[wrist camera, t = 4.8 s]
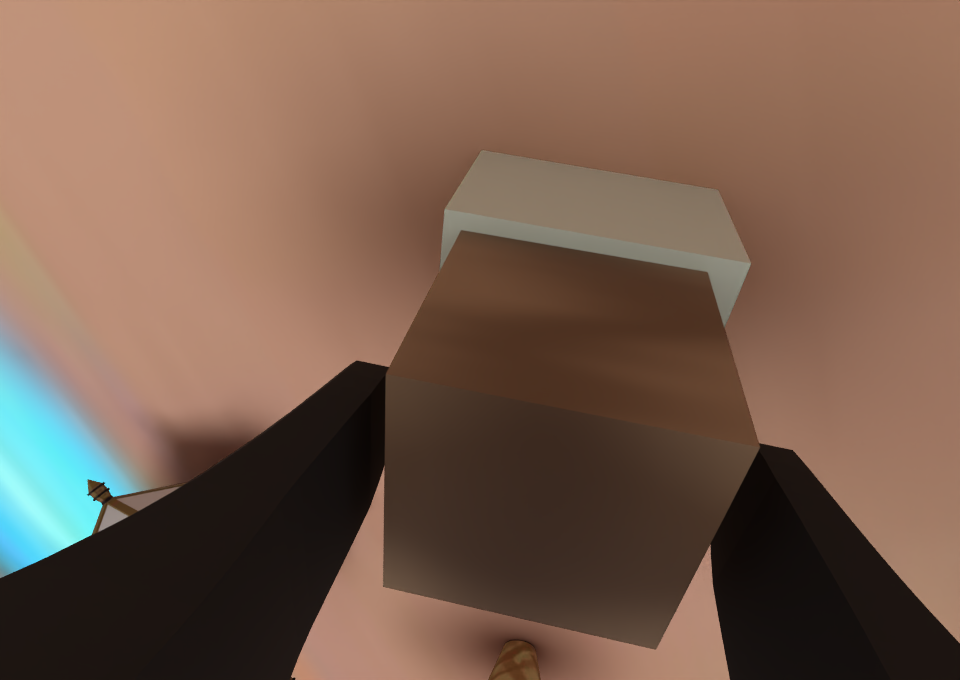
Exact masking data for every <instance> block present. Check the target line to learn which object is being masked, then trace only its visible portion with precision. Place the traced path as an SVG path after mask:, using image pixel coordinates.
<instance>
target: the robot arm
mask: <svg viewBox="0 0 960 680" xmlns="http://www.w3.org/2000/svg"><path fill="white" fill-rule="evenodd" d="M388 369H389V367H386V366H381V365H376V364H371V363H366V362H361V361H355V362H354V363H352V364H350V365H349V366H348V367H347V368H345V369H344V370H343V371H342V372H340V373H339V374H338V375H337V376H335V377H334V378H333V379H332V380H330V381H329V382H328V383H327V384H325V385H324V386H323V387H322V388H320V389H319V390H318V391H317V392H315V393H314V394H313V395H312V396H310V397H309V398H308V399H306V400H305V401H304V402H303V403H301V404H300V405H299V406H297V407H296V408H295V409H293V410H292V411H291V412H289V413H288V414H287V415H285V416H284V417H283V418H281V419H280V420H279V421H277V422H276V423H275V424H273V425H272V426H271V427H269V428H268V429H267V430H265V431H264V432H263V433H261V434H260V435H258V436H257V437H256V438H254V439H253V440H251V441H250V442H248V443H247V444H245V445H244V446H242V447H241V448H239V449H238V450H236V451H235V452H234V453H232V454H231V455H229V456H228V457H226V458H225V459H223V460H222V461H220V462H219V463H217V464H216V465H214V466H213V467H211V468H210V469H208V470H207V471H205V472H204V473H202V474H200V475H199V476H197V477H196V478H194V479H192V480H191V481H189V482H187V483H186V484H184V485H183V486H181V487H179V488H178V489H176V490H174V491H173V492H171V493H169V494H167V495H166V496H164V497H162V498H160V499H159V500H157V501H155V502H153V503H152V504H150V505H148V506H146V507H145V508H143V509H141V510H139V511H138V512H136V513H134V514H132V515H130V516H128V517H126V518H124V519H123V520H121V521H119V522H117V523H115V524H113V525H111V526H109V527H107V528H105V529H103V530H101V531H99V532H97V533H95V534H93V535H91V536H89V537H87V538H85V539H83V540H81V541H79V542H77V543H75V544H73V545H71V546H69V547H67V548H65V549H63V550H61V551H59V552H57V553H55V554H53V555H51V556H49V557H47V558H44V559H42V560H40V561H38V562H36V563H34V564H31V565H29V566H27V567H25V568H22V569H20V570H18V571H16V572H13V573H11V574H9V575H7V576H4V577H2V578H0V680H290V678H291V675H292V672H293V670H294V667H295V665H296V662H297V659H298V657H299V654H300V652H301V650H302V648H303V645H304V643H305V641H306V638H307V636H308V634H309V632H310V629H311V627H312V625H313V623H314V621H315V619H316V617H317V615H318V613H319V611H320V609H321V607H322V605H323V603H324V601H325V599H326V596H327V594H328V592H329V590H330V588H331V586H332V584H333V582H334V580H335V578H336V576H337V574H338V572H339V570H340V568H341V566H342V564H343V562H344V560H345V558H346V556H347V554H348V552H349V550H350V547H351V545H352V543H353V541H354V539H355V537H356V535H357V533H358V531H359V529H360V527H361V525H362V523H363V521H364V518H365V516H366V514H367V512H368V510H369V508H370V505H371V503H372V500H373V497H374V494H375V491H376V489H377V486H378V483H379V480H380V477H381V474H382V471H383V468H384V465H385V396H386V373H387V371H388ZM759 445H760V449H759V451H758V453H757V454H756V456H755V458H754V460H753V462H752V464H751V466H750V468H749V470H748V472H747V474H746V476H745V478H744V480H743V482H742V484H741V485H740V487H739V489H738V491H737V493H736V495H735V497H734V499H733V501H732V503H731V505H730V507H729V509H728V511H727V513H726V515H725V517H724V518H723V520H722V522H721V524H720V526H719V528H718V530H717V532H716V534H715V536H714V538H713V540H712V542H711V563H712V578H713V588H714V594H715V600H716V606H717V611H718V617H719V622H720V628H721V633H722V639H723V644H724V649H725V655H726V660H727V665H728V671H729V676H730V680H960V643H959V642H958V641H957V640H956V639H955V638H954V637H953V636H952V635H951V634H950V633H949V632H948V630H947V629H946V628H945V627H944V626H943V625H942V624H941V623H940V622H939V621H938V620H937V619H936V617H935V616H934V615H933V614H932V613H931V612H930V611H929V610H928V609H927V608H926V607H925V606H924V605H923V603H922V602H921V601H920V600H919V599H918V598H917V597H916V596H915V594H914V593H913V592H912V591H911V590H910V589H909V588H908V587H907V585H906V584H905V583H904V582H903V581H902V580H901V579H900V577H899V576H898V575H897V574H896V573H895V572H894V571H893V569H892V568H891V567H890V566H889V565H888V564H887V562H886V561H885V560H884V559H883V558H882V556H881V555H880V554H879V553H878V552H877V551H876V549H875V548H874V547H873V546H872V545H871V544H870V542H869V541H868V540H867V539H866V538H865V536H864V535H863V534H862V533H861V532H860V530H859V529H858V528H857V527H856V526H855V524H854V523H853V522H852V521H851V519H850V518H849V517H848V516H847V515H846V513H845V512H844V511H843V510H842V508H841V507H840V506H839V505H838V504H837V502H836V501H835V500H834V499H833V497H832V496H831V495H830V494H829V493H828V491H827V490H826V489H825V488H824V486H823V485H822V484H821V483H820V482H819V480H818V479H817V478H816V477H815V476H814V474H813V473H812V472H811V471H810V470H809V468H808V467H807V466H806V465H805V464H804V462H803V461H802V460H801V459H800V458H799V457H798V456H797V455H796V453H795V452H794V451H793V450H789V449H784V448H779V447H775V446H770V445H765V444H760V443H759Z"/></svg>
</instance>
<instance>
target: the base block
mask: <svg viewBox="0 0 960 680" xmlns="http://www.w3.org/2000/svg"><path fill="white" fill-rule="evenodd" d="M461 230H464V231H470V232H476V233H482V234H488V235H494V236H499V237H505V238H511V239H517V240H523V241H529V242H535V243H541V244H546V245H552V246H558V247H564V248H570V249H576V250H582V251H587V252H593V253H599V254H605V255H611V256H617V257H623V258H628V259H634V260H640V261H646V262H652V263H658V264H664V265H669V266H675V267H681V268H687V269H693V270H699V271H705V272H708V275H709V278H710V282H711V285H712V288H713V292H714V295H715V298H716V302H717V305H718V308H719V312H720V315H721V318H722V322H723V325H724V328H725V325H726V323H727V321H728V318H729V316H730V313H731V311H732V309H733V306H734V304H735V301H736V299H737V297H738V294H739V292H740V289H741V287H742V285H743V282H744V280H745V277H746V275H747V273H748V270H749V268H750V265H751V262H750V260H749V257H748V255H747V253H746V251H745V248H744V246H743V244H742V242H741V240H740V237H739V235H738V233H737V231H736V228H735V226H734V224H733V222H732V219H731V217H730V215H729V213H728V211H727V208H726V206H725V204H724V202H723V199H722V197H721V195H720V193H719V191H718V190H717V189H711V188H705V187H699V186H693V185H687V184H681V183H675V182H669V181H663V180H657V179H651V178H645V177H639V176H634V175H628V174H622V173H616V172H610V171H604V170H598V169H592V168H586V167H580V166H574V165H568V164H562V163H556V162H550V161H544V160H538V159H532V158H526V157H520V156H514V155H508V154H503V153H497V152H491V151H485V150H481V152H480V153H479V155H478V156H477V158H476V160H475V161H474V163H473V164H472V166H471V168H470V169H469V171H468V172H467V174H466V176H465V177H464V179H463V180H462V182H461V184H460V185H459V187H458V188H457V190H456V192H455V193H454V195H453V196H452V198H451V200H450V201H449V203H448V204H447V206H446V208H445V210H444V222H443V235H442V247H441V259H440V269H441V268H442V266H443V264H444V262H445V260H446V258H447V256H448V254H449V252H450V250H451V248H452V247H453V245H454V243H455V241H456V239H457V237H458V235H459V233H460V231H461Z"/></svg>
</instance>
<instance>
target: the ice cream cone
mask: <svg viewBox="0 0 960 680" xmlns="http://www.w3.org/2000/svg"><path fill="white" fill-rule="evenodd" d="M488 680H541V679H540V673H539V667H538V661H537V655H536V650H535V649H534V647H533V646H532V645H531V644H529V643H527V642H524V641H518V640H516V641H509V642H506V644H505V645H504V647H503V649H502V651H501V653H500V656H499V658H498V660H497V662H496V664H495V666H494V669H493V671H492V673H491V675H490V677H489V679H488Z"/></svg>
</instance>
